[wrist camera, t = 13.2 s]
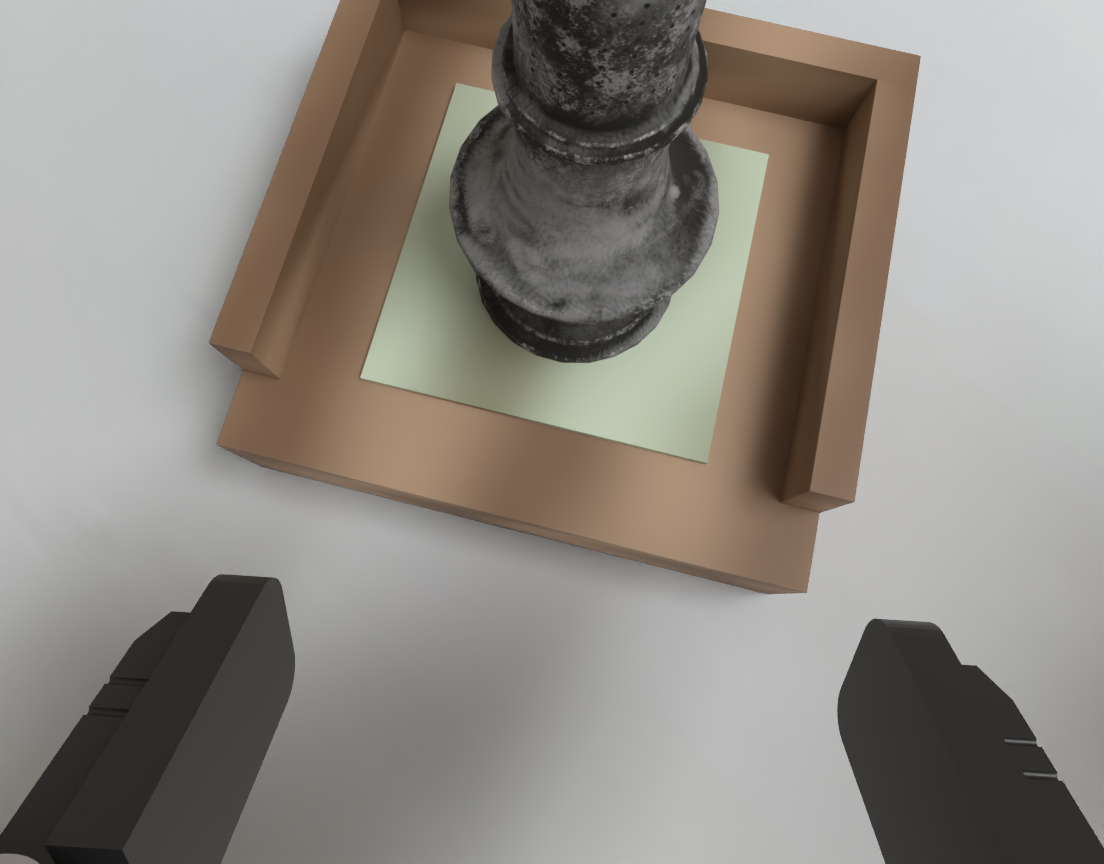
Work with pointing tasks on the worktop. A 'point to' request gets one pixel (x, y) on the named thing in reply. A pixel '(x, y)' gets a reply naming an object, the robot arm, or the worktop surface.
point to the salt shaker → (587, 174)
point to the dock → (576, 388)
